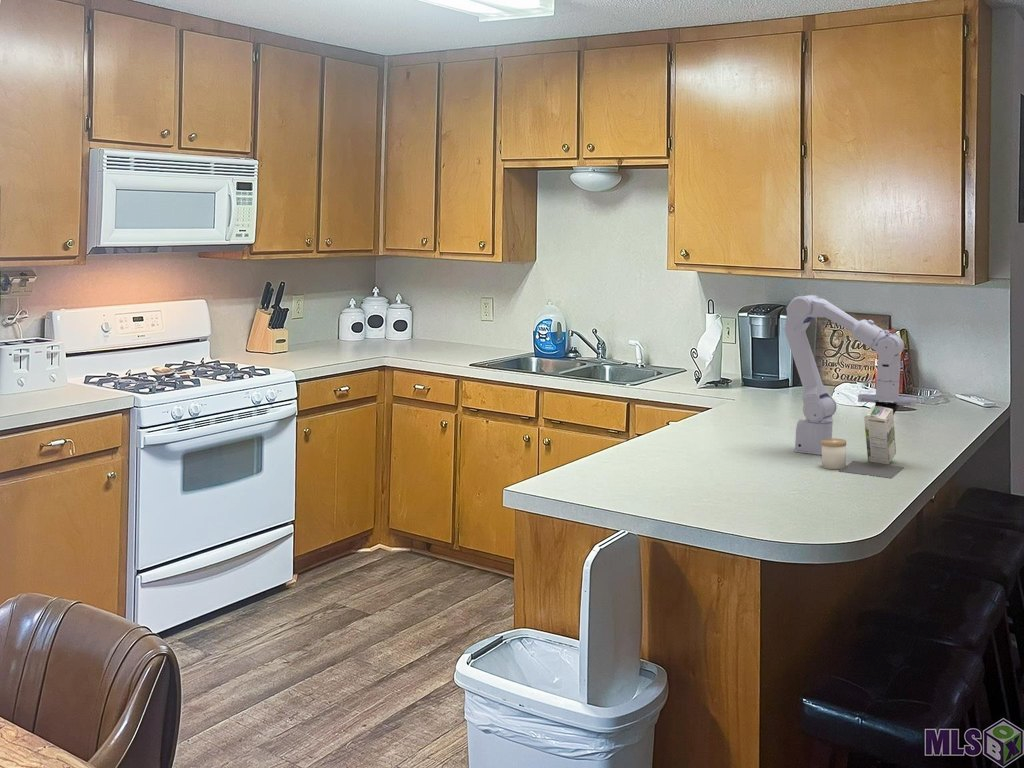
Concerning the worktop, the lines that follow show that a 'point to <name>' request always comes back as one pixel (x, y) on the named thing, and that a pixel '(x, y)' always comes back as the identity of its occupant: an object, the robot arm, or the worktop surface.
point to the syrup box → (880, 435)
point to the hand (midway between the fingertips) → (884, 430)
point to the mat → (872, 469)
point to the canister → (833, 453)
